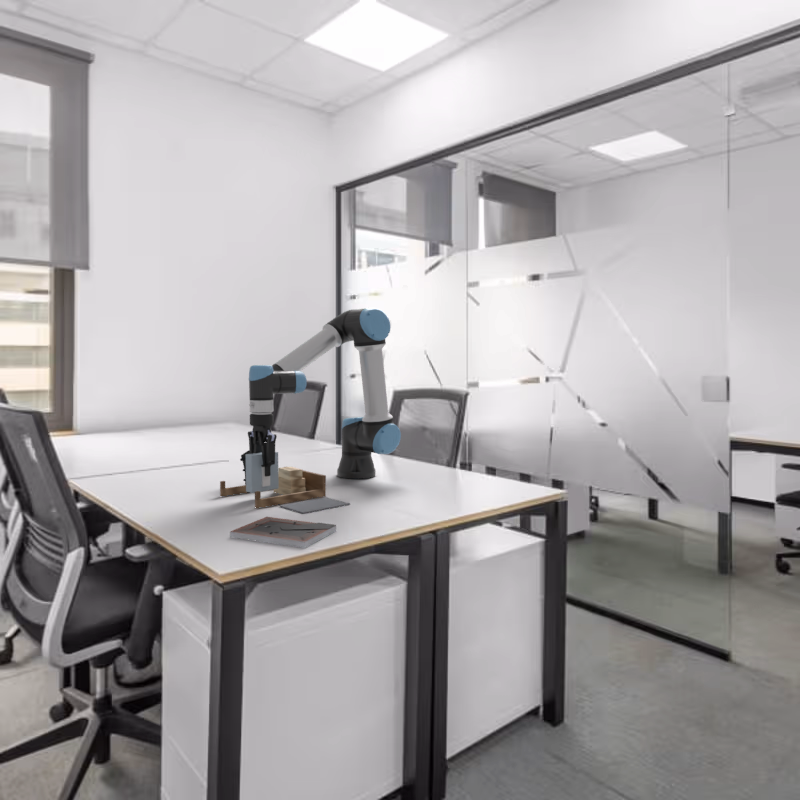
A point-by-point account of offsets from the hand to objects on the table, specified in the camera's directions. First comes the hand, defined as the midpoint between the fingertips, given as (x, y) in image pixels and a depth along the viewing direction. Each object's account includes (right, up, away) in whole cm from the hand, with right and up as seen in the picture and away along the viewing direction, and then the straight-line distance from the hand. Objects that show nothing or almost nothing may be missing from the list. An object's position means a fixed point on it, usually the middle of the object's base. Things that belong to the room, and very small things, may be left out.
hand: (262, 484), depth 201 cm
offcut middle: (+7, -2, +8) cm, 11 cm away
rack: (+2, -4, +3) cm, 6 cm away
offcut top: (+8, +1, +8) cm, 11 cm away
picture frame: (+15, -8, -41) cm, 44 cm away
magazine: (-7, -3, +19) cm, 20 cm away
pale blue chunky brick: (0, -2, 0) cm, 2 cm away
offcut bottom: (+7, -5, +8) cm, 12 cm away
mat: (+18, -5, -9) cm, 21 cm away
